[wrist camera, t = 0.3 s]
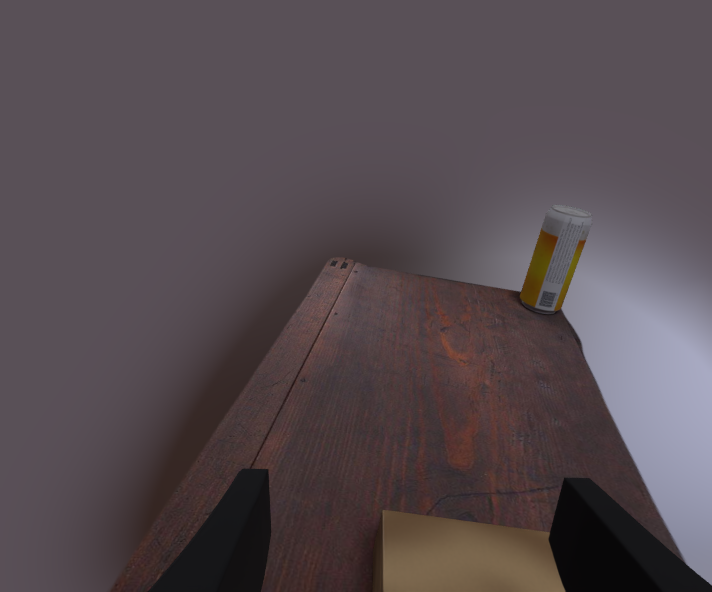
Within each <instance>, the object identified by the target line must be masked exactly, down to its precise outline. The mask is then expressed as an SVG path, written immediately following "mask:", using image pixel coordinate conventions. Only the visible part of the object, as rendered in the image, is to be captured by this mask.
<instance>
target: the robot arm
mask: <svg viewBox="0 0 712 592" xmlns="http://www.w3.org/2000/svg"><path fill="white" fill-rule="evenodd" d="M270 537H271V516H270V495H269V474H268V469H242V470H241V471H240V472H239V473H238V474H237V476H236V477H235V479H234V481H233V482H232V484H231V485H230V487H229V488H228V490H227V491H226V493H225V494H224V496H223V497H222V499H221V500H220V502H219V503H218V505H217V506H216V507H215V509H214V510H213V512H212V513H211V514H210V516H209V517H208V519H207V520H206V521H205V522H204V524H203V525H202V526H201V528H200V529H199V530H198V532H197V533H196V534H195V536H194V537H193V538H192V540H191V541H190V542H189V544H188V545H187V546H186V547H185V549H184V550H183V551H182V552H181V553H180V555H179V556H178V557H177V558H176V559H175V561H174V562H173V563H172V564H171V565H170V567H169V568H168V569H167V570H166V571H165V573H164V574H163V575H162V576H161V577H160V579H159V580H158V581H157V582H156V583H155V584H154V585H153V586H152V588H151V589H150V590H149V591H148V592H261V588H262V584H263V580H264V575H265V569H266V563H267V557H268V550H269V543H270ZM548 540H549V543H550V547H551V550H552V553H553V557H554V560H555V563H556V566H557V570H558V573H559V576H560V579H561V582H562V585H563V587H564V589H565V592H712V585H710V584H709V583H708V582H707V581H706V580H704V579H703V578H702V577H701V576H699V575H698V574H697V573H696V572H695V571H693V570H692V569H691V568H690V567H689V566H687V565H686V564H685V563H684V562H683V561H682V560H680V559H679V558H678V557H677V556H676V555H675V554H673V553H672V552H671V551H670V550H669V549H668V548H666V547H665V546H664V545H663V544H662V543H661V542H660V541H659V540H657V539H656V538H655V537H654V536H653V535H652V534H651V533H650V532H648V531H647V530H646V529H645V528H644V527H643V526H642V525H641V524H640V523H638V522H637V521H636V520H635V519H634V518H633V517H632V516H631V515H630V514H629V513H627V512H626V511H625V510H624V509H623V508H622V507H621V506H620V505H619V504H618V503H616V502H615V501H614V500H613V499H612V498H611V497H610V496H609V495H608V494H607V493H605V492H604V491H603V490H602V489H601V488H600V487H599V486H598V485H596V484H595V483H594V482H593V481H592V480H591V479H589V478H564V481H563V485H562V489H561V492H560V496H559V500H558V504H557V508H556V512H555V515H554V519H553V523H552V527H551V531H550V535H549V538H548Z"/></svg>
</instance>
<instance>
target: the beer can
mask: <svg viewBox="0 0 712 592" xmlns="http://www.w3.org/2000/svg"><path fill="white" fill-rule="evenodd" d="M591 216H592V215H591V213H589V212H586V211H584V210H581V209H578V208H574V207H568V206H563V205H553V206H552V207H551V209H550V210H549V211H548V212H547V213H546V216H545V219H544V222H543V225H542V228H541V232H540V235H539V238H538V241H537V244H536V247H535V250H534V253H533V257H532V260H531V263H530V266H529V269H528V272H527V276H526V279H525V282H524V285H523V288H522V291H521V294H520V298H521V300H522V304H523V305H524V306H525V307H526V308H528V309H530V310H532V311H535V312H538V313H542V314H554V313H555V312H556V311H558V310H560V309H561V307H562V304H563V302H564V299H565V296H566V293H567V291H568V288H569V285H570V282H571V280H572V277H573V274H574V272H575V269H576V265H577V263H578V261H579V258H580V255H581V252H582V250H583V247H584V244H585V242H586V239H587V236H588V233H589V230H590V228H591V225H592V220H591Z"/></svg>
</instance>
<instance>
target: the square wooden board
mask: <svg viewBox="0 0 712 592" xmlns="http://www.w3.org/2000/svg"><path fill="white" fill-rule="evenodd" d="M549 535H550V532H543V531H535V530H528V529H521V528H513V527H506V526H499V525H491V524H484V523H477V522H469V521H462V520H455V519H447V518H440V517H433V516H425V515H418V514H411V513H403V512H396V511H389V510H382V514H381V518H380V522H379V527H378V531H377V535H376V540H375V544H374V548H373V592H565V589H564V587H563V585H562V582H561V579H560V576H559V573H558V570H557V566H556V563H555V560H554V557H553V553H552V550H551V547H550V543H549V540H548V538H549Z"/></svg>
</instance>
